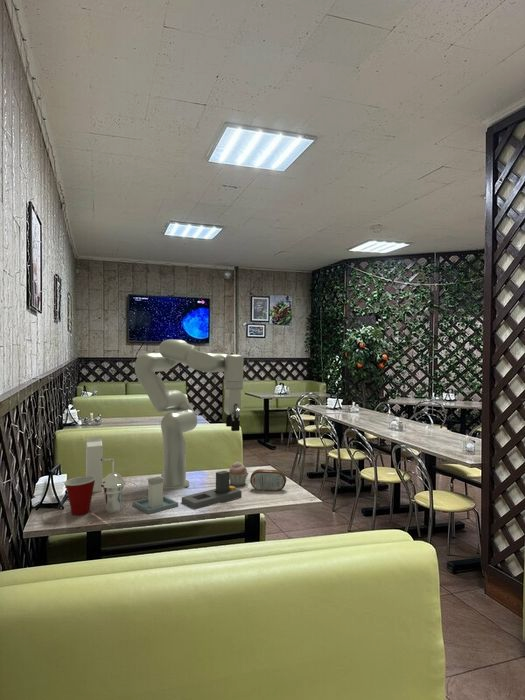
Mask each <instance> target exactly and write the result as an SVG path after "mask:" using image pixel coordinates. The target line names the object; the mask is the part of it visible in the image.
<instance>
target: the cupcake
mask: <svg viewBox="0 0 525 700" xmlns="http://www.w3.org/2000/svg"><path fill="white" fill-rule="evenodd" d="M228 472H229V485H230V486H234V487H241V486H244V485H245V484H246V482H247V481H246V480H247V478H248V476H249V474H250V473H249V472H248V470H247V468H246V466H245V465H244V464H243V463H241V462H240V461H239V460H237V461H235V462H234V463H233V464H232V465H231V466H230V468H229V470H228Z"/></svg>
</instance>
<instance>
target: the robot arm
mask: <svg viewBox="0 0 525 700" xmlns="http://www.w3.org/2000/svg"><path fill="white" fill-rule="evenodd" d="M179 363H180V364H185V365H186V366H187V367H189V368H191V369H194V370H196V371H200V372H204V373H208V374H210V373H224V376H223V378H224V380H223V382H224V383H223V386H224V387H223V389H224V390H225V392H224V406H223V411H224V413H225V415H226V417H225V418H226V419H225V426H226V427H230V428H231V429H230V430H231V432H239V431H240V428H241V427H240V426H241V424H240V422H241V421H240V420H241V419H240V415H241V414H242V413H241V411H242V392H241V391H243V390H244V356H243V355H241V354H226V353H207V352H203V351H199V350H198V349H197V347H196V346H195V345H193V344H190V343H188V342H187V341H185V340H183V339H165V340H163V341H162V342H161V343H160V344H159V346H158V352H146V353H141V354H140V355H139V356H137V358H136V360H135V364H134V373H135V376H136V378H137V381H138V382H139V383H140V385H141V386H142V388H143V389H144V391H145V392H146V395H147V397H148V398H149V400H150V402H151V404H152V406H153V407H154V409H155V411H156V412H158V413H161V414H163V413H165V415H164V416H163V417H162V419H161V421H160V429H161V434H162V435H161V436H162V445H163V446H162V449H163V452H162V453H163V454H162V457H163V459H162V463H163V465H162V466H163V467H162V469H163V470H162V471H163V472H162V473H163V474H161V475H160V477H161V478H163V490H164V489H165V490H179V489H180V490H181V489H186V488H188V487H190V481H189V480H187V478H186V477H187V476H186V475H187V470H186V469H187V467H186V465H187V458H186V457H187V456H186V455H187V452H186V451H187V448H186V447H187V445H186V444H187V443H186V439H185V436H184V433H186V432H190V431H193V430H194V429H195V428H197V424H198V416H197V414H196V412H195V410H194V409H193V407H192V405H191V402H189V399H188V398H187V396H186V394H184V393H183V392H182V391H180V390H178V389H168V388H167V386H166V385H165V383H164V381H163V380H162V379H161V377H160V376H158V375H157V374H156V372H165V371H169V370H171V369H172V368H174V367H176V366H177V364H179Z"/></svg>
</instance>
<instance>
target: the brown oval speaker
mask: <svg viewBox="0 0 525 700" xmlns="http://www.w3.org/2000/svg"><path fill="white" fill-rule="evenodd" d="M249 481H250V482H249V483H250V485H251V487H252V488H254V489H255V490H257V491H263V490H264V492H265V491H266V492H269V491H270V492H280V491H281V490H283V489H284V488H285V487H286V485H287V484H286V483H287V476H286V474H285V473H284V472H283V471H281V470H279V469H264V468H263V469H261V468H259V469H255V470H254V471H253V472H251V475H250V479H249Z"/></svg>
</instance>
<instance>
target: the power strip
mask: <svg viewBox="0 0 525 700" xmlns="http://www.w3.org/2000/svg"><path fill="white" fill-rule="evenodd" d="M236 487H237V486H233V485H229V492H227V493H223V494H218V493H216V488H213V489H208V490H204V491H200V492H197V493H194V494H193V493H192V494H190V495H185V496H181V504H184V505H186V506H188V507H190V508H192V509H194V510H196V509H200V508H203V507H208V506H211V505H214V504H217V503H220V504H222V503H225V501H226V502H229V501H232V499H233V500H236V499H240V498H242V490H241V489H237V488H236ZM235 498H236V499H235ZM228 500H229V501H228Z"/></svg>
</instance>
